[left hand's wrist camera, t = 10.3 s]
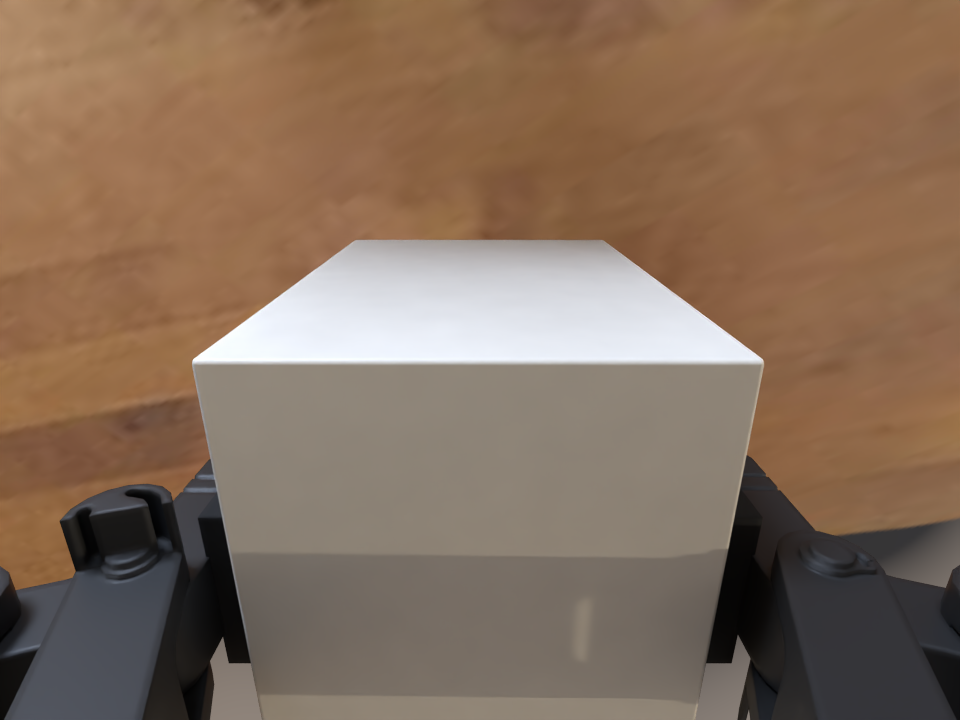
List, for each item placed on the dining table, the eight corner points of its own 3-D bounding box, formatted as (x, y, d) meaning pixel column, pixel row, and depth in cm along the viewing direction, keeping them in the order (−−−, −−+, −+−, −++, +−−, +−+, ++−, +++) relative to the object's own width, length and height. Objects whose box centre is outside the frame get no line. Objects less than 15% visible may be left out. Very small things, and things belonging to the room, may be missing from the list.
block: (354, 239, 14) (188, 360, 6) (604, 239, 14) (768, 360, 6) (375, 507, 17) (281, 829, 9) (583, 507, 17) (674, 829, 9)
